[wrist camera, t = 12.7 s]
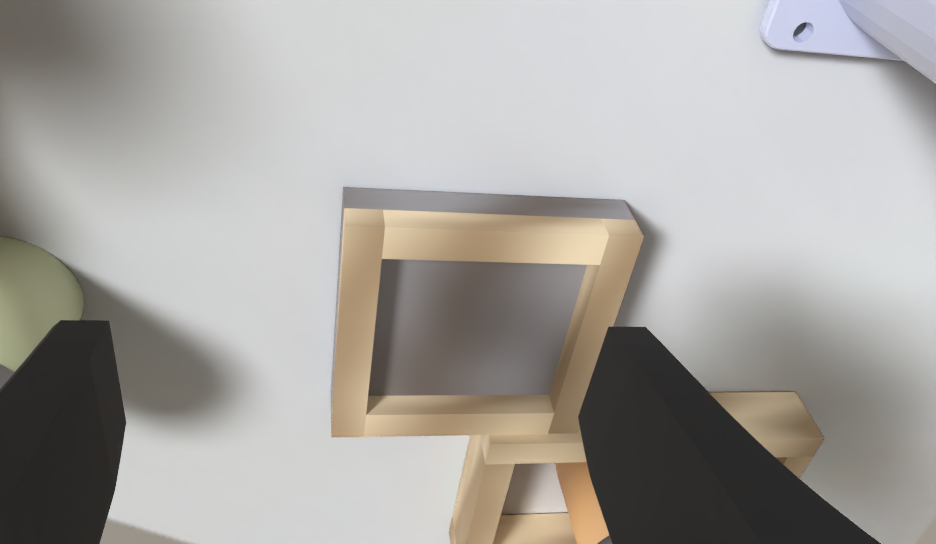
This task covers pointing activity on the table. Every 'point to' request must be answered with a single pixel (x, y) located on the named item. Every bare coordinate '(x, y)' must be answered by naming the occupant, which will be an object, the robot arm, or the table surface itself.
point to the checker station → (496, 338)
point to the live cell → (582, 504)
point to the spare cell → (31, 300)
